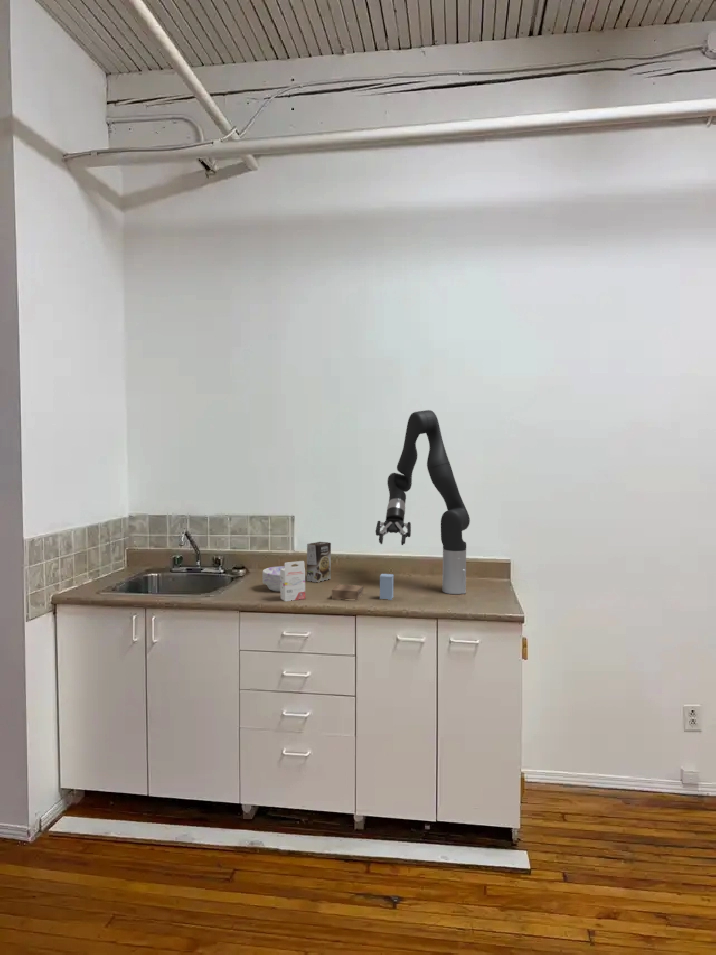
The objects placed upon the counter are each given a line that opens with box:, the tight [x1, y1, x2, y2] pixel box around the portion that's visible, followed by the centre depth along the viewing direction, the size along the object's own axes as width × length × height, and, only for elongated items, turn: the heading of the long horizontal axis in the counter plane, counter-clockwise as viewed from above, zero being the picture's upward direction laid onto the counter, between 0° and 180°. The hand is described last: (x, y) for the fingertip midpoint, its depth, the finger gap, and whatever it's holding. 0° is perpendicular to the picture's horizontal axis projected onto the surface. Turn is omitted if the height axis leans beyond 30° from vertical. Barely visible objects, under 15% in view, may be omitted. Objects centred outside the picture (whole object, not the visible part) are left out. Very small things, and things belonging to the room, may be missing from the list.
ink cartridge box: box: [279, 560, 306, 602], centre depth 255 cm, size 9×5×15 cm, turn 117°
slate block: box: [379, 573, 394, 601], centre depth 257 cm, size 5×5×9 cm
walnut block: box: [331, 584, 364, 601], centre depth 259 cm, size 10×10×4 cm
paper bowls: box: [261, 565, 285, 592], centre depth 272 cm, size 15×15×8 cm
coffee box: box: [306, 541, 332, 583], centre depth 288 cm, size 9×6×16 cm
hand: (391, 543), depth 270 cm, fingers open, 8 cm apart
